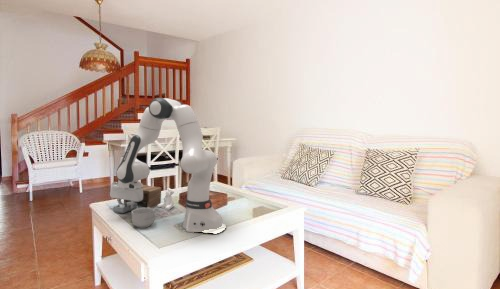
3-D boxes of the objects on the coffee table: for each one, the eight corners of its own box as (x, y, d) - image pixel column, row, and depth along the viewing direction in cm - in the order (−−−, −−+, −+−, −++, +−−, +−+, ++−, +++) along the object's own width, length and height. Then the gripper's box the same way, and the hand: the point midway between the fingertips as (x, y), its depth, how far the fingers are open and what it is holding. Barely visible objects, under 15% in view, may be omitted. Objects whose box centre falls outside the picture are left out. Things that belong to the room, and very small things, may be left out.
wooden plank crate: (160, 203, 182) (161, 187, 181) (148, 208, 171) (149, 191, 170) (136, 200, 187) (137, 184, 186) (123, 204, 176) (124, 187, 175)
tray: (122, 213, 158) (123, 206, 158) (113, 211, 159) (114, 205, 159) (137, 207, 169) (137, 201, 169) (128, 206, 171) (128, 200, 171)
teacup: (146, 231, 137) (147, 214, 136) (126, 227, 139) (126, 211, 138) (161, 221, 150) (161, 206, 150) (142, 219, 152) (143, 204, 152)
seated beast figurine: (156, 207, 174) (157, 188, 173) (167, 204, 181) (168, 186, 180) (166, 210, 169) (167, 190, 168) (177, 208, 176) (178, 188, 175)
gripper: (107, 182, 163) (106, 205, 164) (138, 186, 157) (137, 211, 158) (115, 180, 169) (115, 203, 170) (145, 184, 164) (144, 208, 164)
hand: (125, 207), depth 164 cm, fingers closed on tray, 6 cm apart
